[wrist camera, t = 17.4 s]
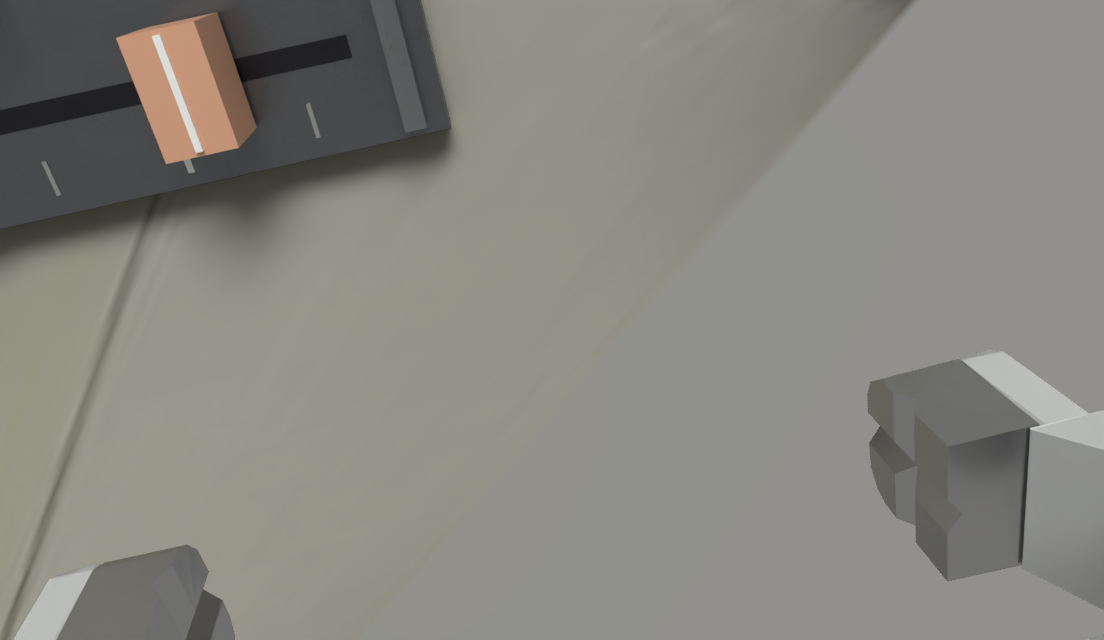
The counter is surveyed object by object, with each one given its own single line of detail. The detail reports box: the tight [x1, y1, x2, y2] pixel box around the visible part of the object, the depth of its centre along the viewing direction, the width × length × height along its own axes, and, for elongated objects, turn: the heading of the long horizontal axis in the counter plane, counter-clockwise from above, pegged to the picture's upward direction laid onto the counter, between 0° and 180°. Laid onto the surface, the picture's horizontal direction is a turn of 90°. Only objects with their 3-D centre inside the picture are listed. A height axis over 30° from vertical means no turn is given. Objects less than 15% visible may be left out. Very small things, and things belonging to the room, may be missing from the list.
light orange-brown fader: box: [116, 12, 257, 164], centre depth 36 cm, size 3×5×4 cm, turn 11°
